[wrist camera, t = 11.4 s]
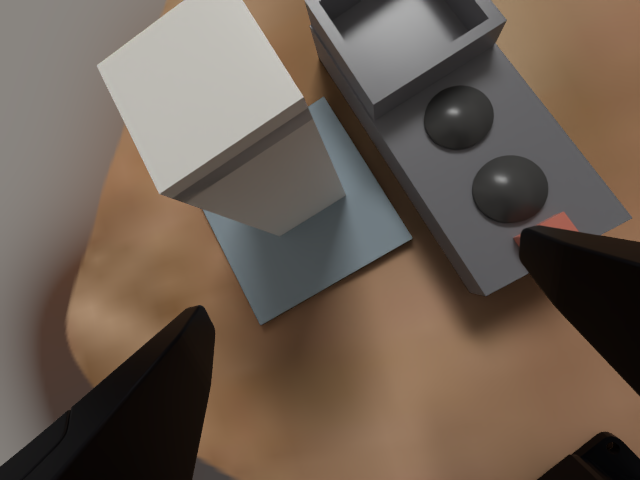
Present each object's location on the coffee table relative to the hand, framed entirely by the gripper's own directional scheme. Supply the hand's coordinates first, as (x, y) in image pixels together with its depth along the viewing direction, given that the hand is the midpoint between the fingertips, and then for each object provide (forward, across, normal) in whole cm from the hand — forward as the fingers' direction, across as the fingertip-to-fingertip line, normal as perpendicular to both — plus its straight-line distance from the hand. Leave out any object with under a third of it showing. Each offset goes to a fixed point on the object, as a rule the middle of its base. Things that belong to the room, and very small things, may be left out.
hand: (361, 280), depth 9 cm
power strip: (+10, -7, -1) cm, 12 cm away
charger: (+10, +2, 0) cm, 11 cm away
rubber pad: (+10, +2, +1) cm, 10 cm away
